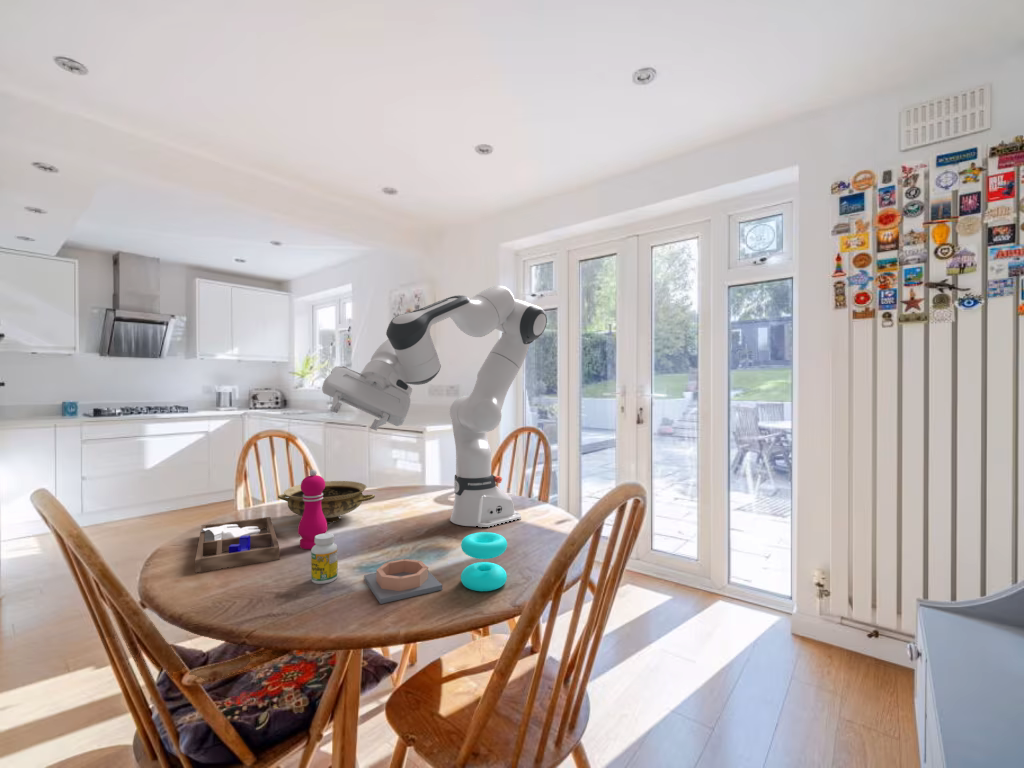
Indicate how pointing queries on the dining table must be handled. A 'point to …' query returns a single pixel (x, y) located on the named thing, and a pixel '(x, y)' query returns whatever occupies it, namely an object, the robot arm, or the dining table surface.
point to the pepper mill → (312, 510)
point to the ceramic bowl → (330, 498)
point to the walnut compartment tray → (237, 557)
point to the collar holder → (401, 580)
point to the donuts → (483, 573)
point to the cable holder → (241, 545)
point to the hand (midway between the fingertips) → (354, 419)
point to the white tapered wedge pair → (228, 532)
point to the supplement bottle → (324, 559)
